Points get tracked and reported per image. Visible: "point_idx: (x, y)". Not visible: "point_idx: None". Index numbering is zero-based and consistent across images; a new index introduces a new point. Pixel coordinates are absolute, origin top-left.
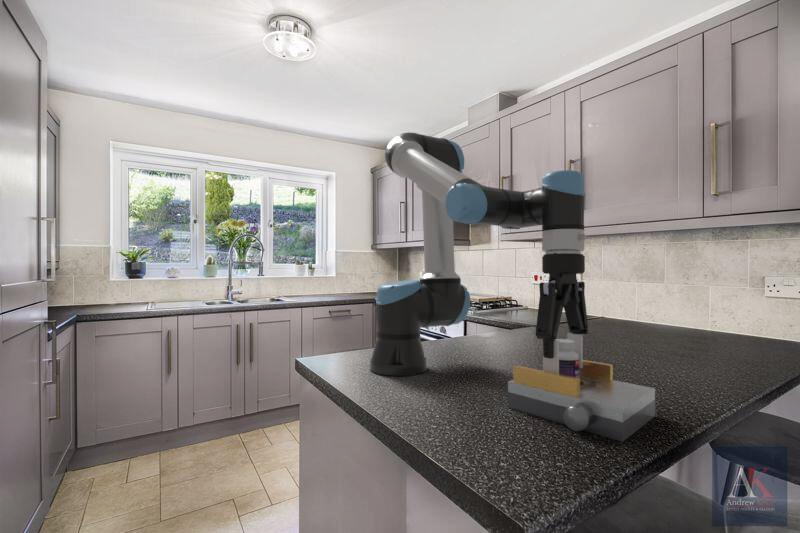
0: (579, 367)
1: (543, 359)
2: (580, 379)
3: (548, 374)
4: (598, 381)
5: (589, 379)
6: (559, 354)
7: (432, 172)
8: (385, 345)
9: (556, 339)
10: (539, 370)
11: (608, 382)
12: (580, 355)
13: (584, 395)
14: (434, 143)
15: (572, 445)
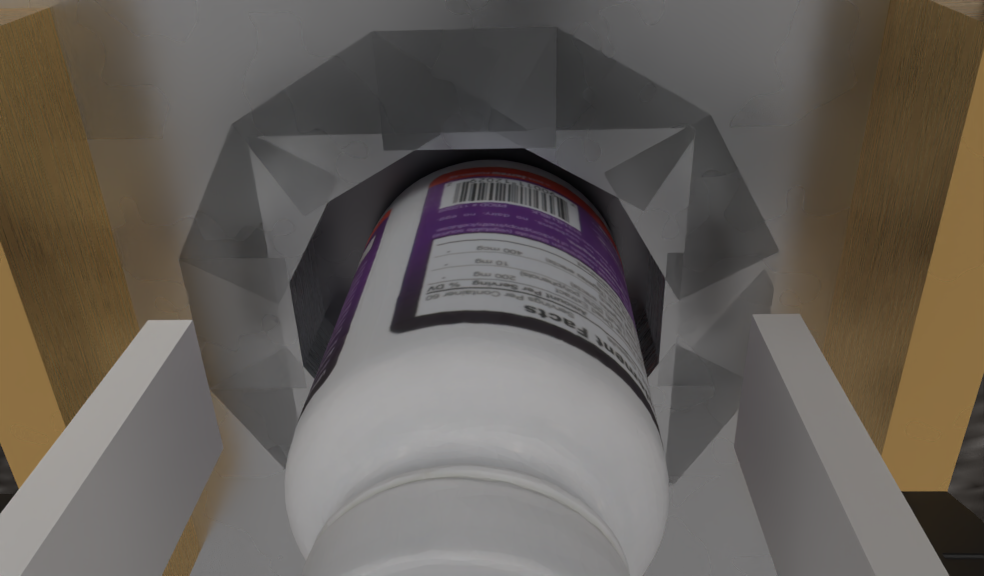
0: (738, 436)
1: (74, 428)
2: (668, 390)
3: (18, 465)
4: (712, 501)
5: (728, 437)
6: (306, 548)
7: None
8: None
9: None
10: (24, 364)
11: (741, 551)
12: (774, 548)
13: (242, 560)
14: None
15: (5, 479)
